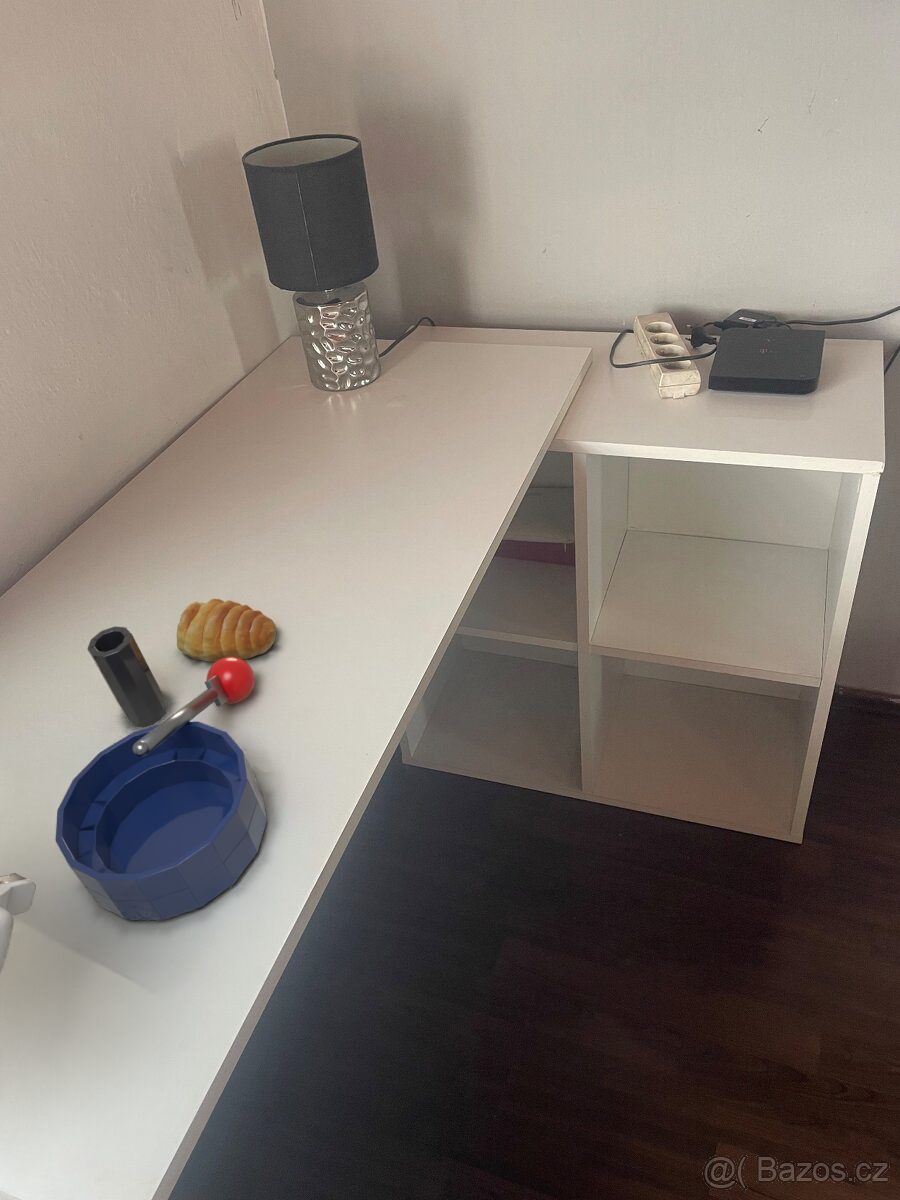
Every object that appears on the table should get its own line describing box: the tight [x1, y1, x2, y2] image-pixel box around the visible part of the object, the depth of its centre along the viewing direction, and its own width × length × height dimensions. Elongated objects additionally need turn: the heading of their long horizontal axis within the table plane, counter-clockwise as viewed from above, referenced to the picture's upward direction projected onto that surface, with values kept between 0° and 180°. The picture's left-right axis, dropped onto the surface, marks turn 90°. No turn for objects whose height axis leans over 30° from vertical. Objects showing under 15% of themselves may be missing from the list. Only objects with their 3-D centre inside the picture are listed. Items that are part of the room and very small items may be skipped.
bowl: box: [55, 721, 268, 921], centre depth 66 cm, size 14×14×6 cm
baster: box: [133, 657, 256, 757], centre depth 71 cm, size 4×4×19 cm
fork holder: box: [87, 625, 168, 728], centre depth 76 cm, size 4×4×9 cm
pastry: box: [176, 598, 277, 663], centre depth 83 cm, size 9×7×4 cm
